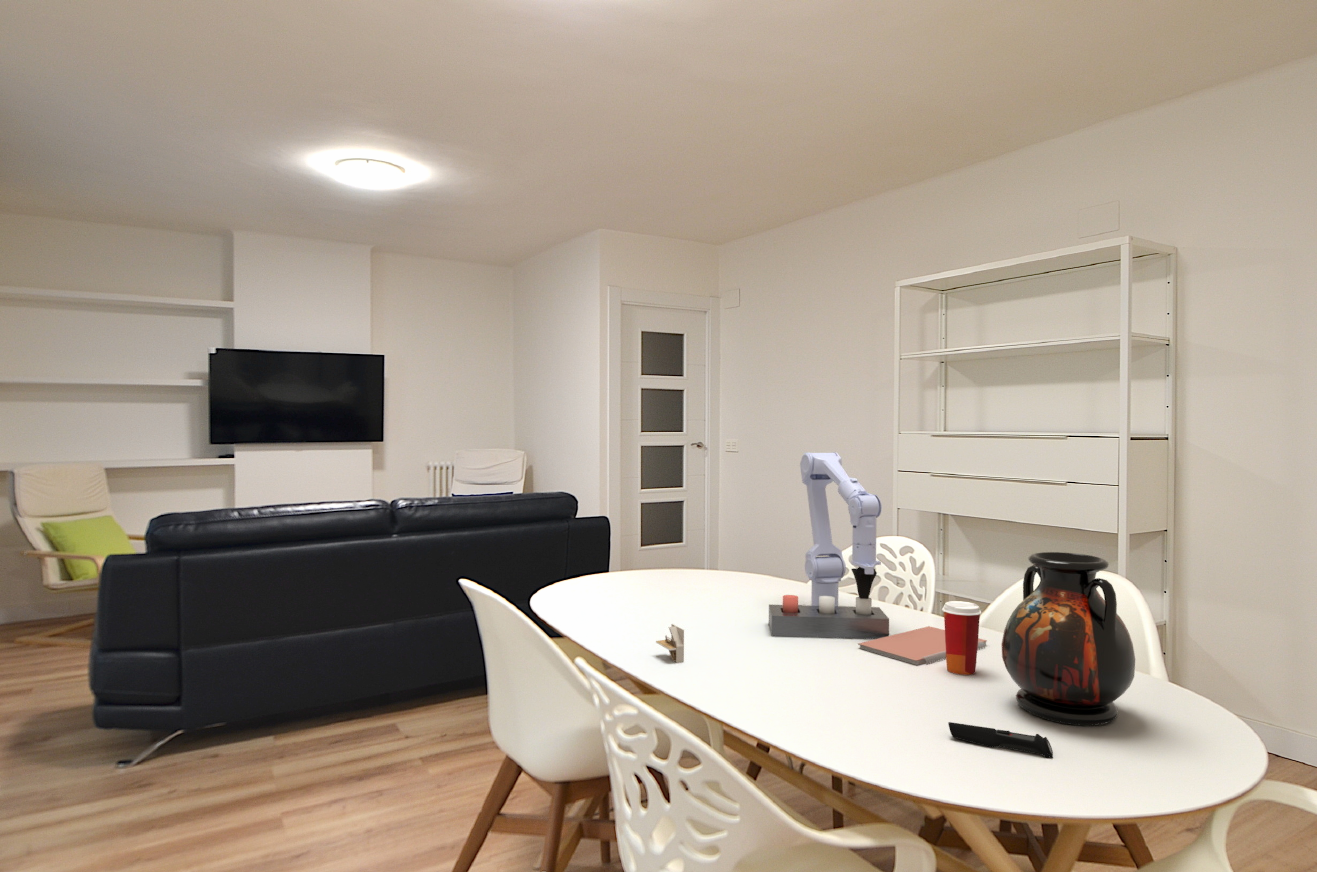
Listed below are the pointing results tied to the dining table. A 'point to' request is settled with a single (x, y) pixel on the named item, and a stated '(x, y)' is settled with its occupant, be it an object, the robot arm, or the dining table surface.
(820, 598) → the plug
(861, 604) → the plug
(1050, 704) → the amphora vase
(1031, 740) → the electric trimmer
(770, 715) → the dining table surface
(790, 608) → the red plug
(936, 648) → the notebook
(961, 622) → the paper cup
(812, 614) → the block
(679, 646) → the architectural model
